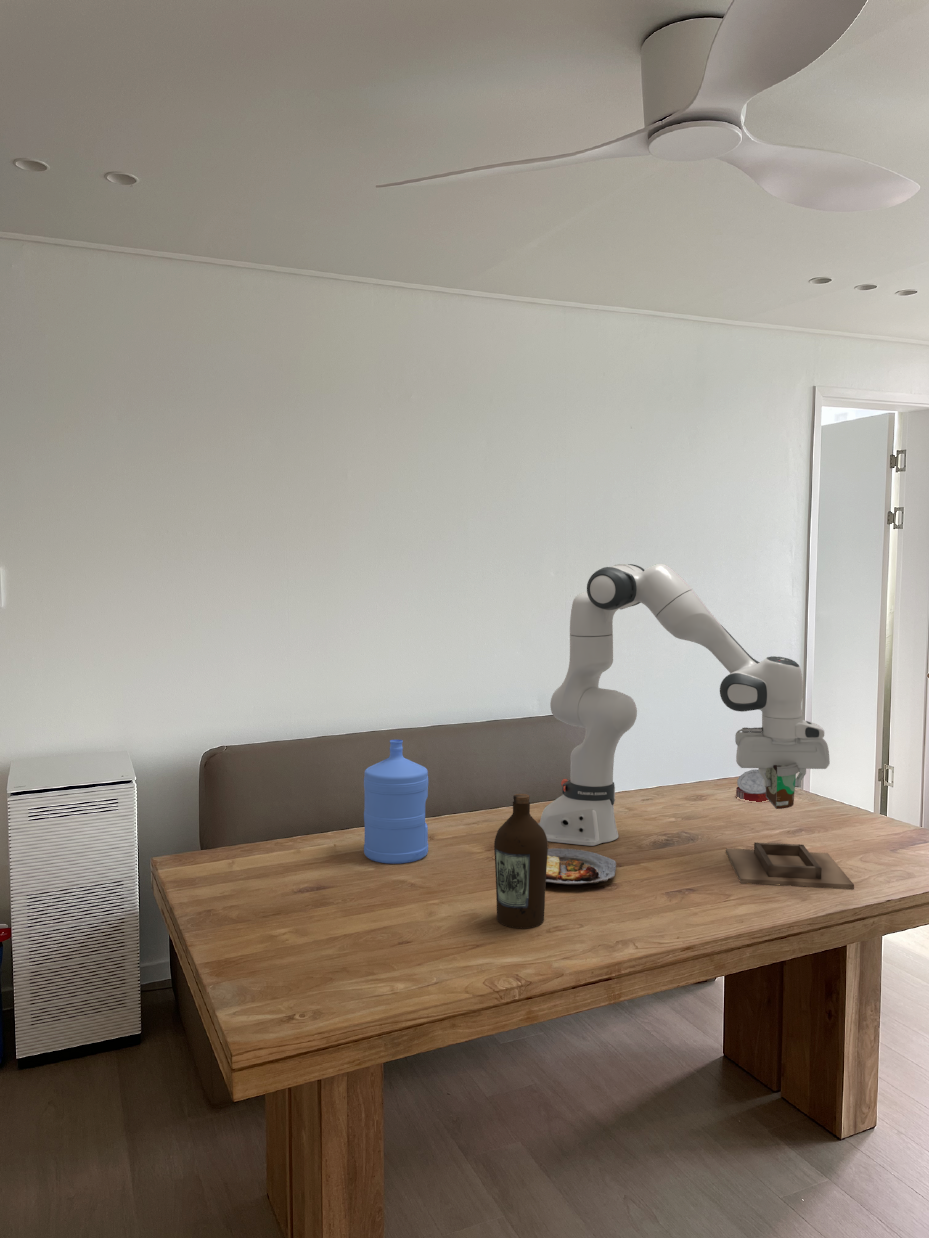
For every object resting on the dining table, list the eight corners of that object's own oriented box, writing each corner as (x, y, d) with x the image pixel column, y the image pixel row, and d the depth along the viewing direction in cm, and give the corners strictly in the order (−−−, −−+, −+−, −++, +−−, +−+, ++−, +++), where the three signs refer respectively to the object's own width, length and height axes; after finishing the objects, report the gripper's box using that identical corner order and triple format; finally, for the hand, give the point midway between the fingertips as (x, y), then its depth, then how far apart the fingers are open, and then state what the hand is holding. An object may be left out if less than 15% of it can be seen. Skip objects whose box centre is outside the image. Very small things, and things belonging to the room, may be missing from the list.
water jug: (399, 869, 208) (399, 749, 206) (350, 856, 217) (350, 741, 215) (441, 852, 220) (441, 739, 218) (393, 840, 229) (393, 732, 228)
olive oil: (508, 905, 186) (508, 786, 184) (555, 915, 180) (556, 792, 179) (484, 923, 176) (485, 798, 175) (533, 934, 171) (534, 805, 170)
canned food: (769, 814, 274) (784, 788, 270) (746, 815, 268) (761, 789, 264) (745, 789, 282) (760, 764, 278) (723, 790, 277) (737, 764, 273)
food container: (806, 810, 201) (806, 767, 200) (777, 811, 201) (777, 767, 200) (790, 794, 213) (790, 753, 212) (764, 795, 214) (764, 753, 213)
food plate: (613, 895, 191) (613, 879, 191) (505, 888, 196) (505, 872, 196) (617, 861, 216) (617, 847, 216) (521, 855, 220) (521, 841, 220)
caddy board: (740, 883, 199) (741, 867, 199) (725, 852, 221) (726, 838, 221) (853, 889, 196) (854, 873, 196) (827, 857, 218) (828, 842, 218)
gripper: (737, 730, 204) (737, 789, 205) (831, 730, 201) (831, 791, 202) (733, 724, 210) (733, 782, 212) (824, 725, 207) (824, 783, 208)
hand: (782, 786), depth 207 cm, fingers closed on food container, 5 cm apart
